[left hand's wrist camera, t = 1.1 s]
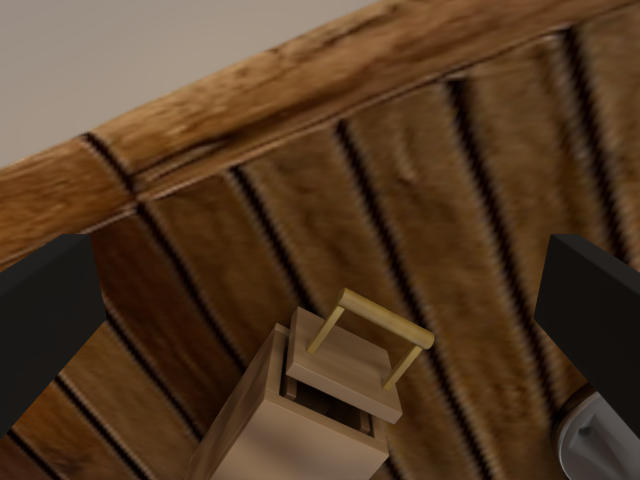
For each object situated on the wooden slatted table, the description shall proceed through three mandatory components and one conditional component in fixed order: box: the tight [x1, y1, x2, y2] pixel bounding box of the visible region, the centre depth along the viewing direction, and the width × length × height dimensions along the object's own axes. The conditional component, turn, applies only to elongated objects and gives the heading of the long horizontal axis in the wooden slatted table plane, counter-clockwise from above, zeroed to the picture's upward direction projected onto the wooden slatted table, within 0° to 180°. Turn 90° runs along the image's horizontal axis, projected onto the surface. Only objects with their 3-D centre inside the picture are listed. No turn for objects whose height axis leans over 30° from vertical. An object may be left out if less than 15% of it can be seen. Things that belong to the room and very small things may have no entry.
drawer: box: [279, 288, 434, 435], centre depth 36 cm, size 23×9×8 cm, turn 150°
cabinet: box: [184, 323, 389, 480], centre depth 38 cm, size 19×10×10 cm, turn 150°
